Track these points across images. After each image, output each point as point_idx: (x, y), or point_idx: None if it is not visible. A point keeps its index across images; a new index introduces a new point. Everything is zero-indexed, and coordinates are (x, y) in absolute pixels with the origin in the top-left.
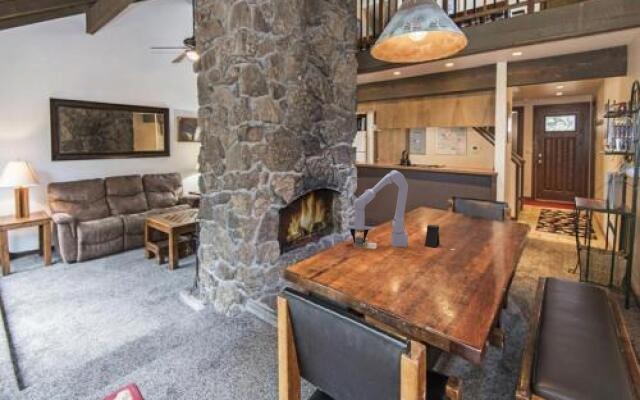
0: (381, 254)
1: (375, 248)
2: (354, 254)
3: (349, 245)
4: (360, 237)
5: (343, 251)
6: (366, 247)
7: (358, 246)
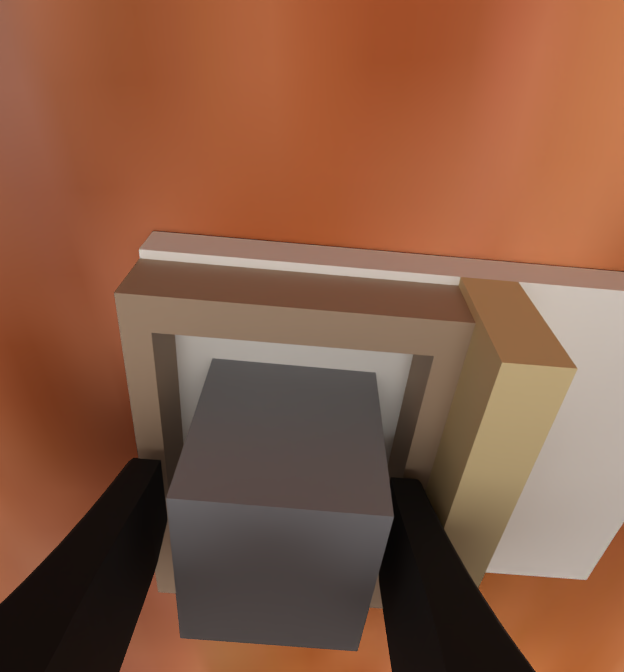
0: (594, 655)
1: (578, 577)
2: (234, 657)
3: (59, 351)
4: (298, 525)
5: None
6: None
7: None
